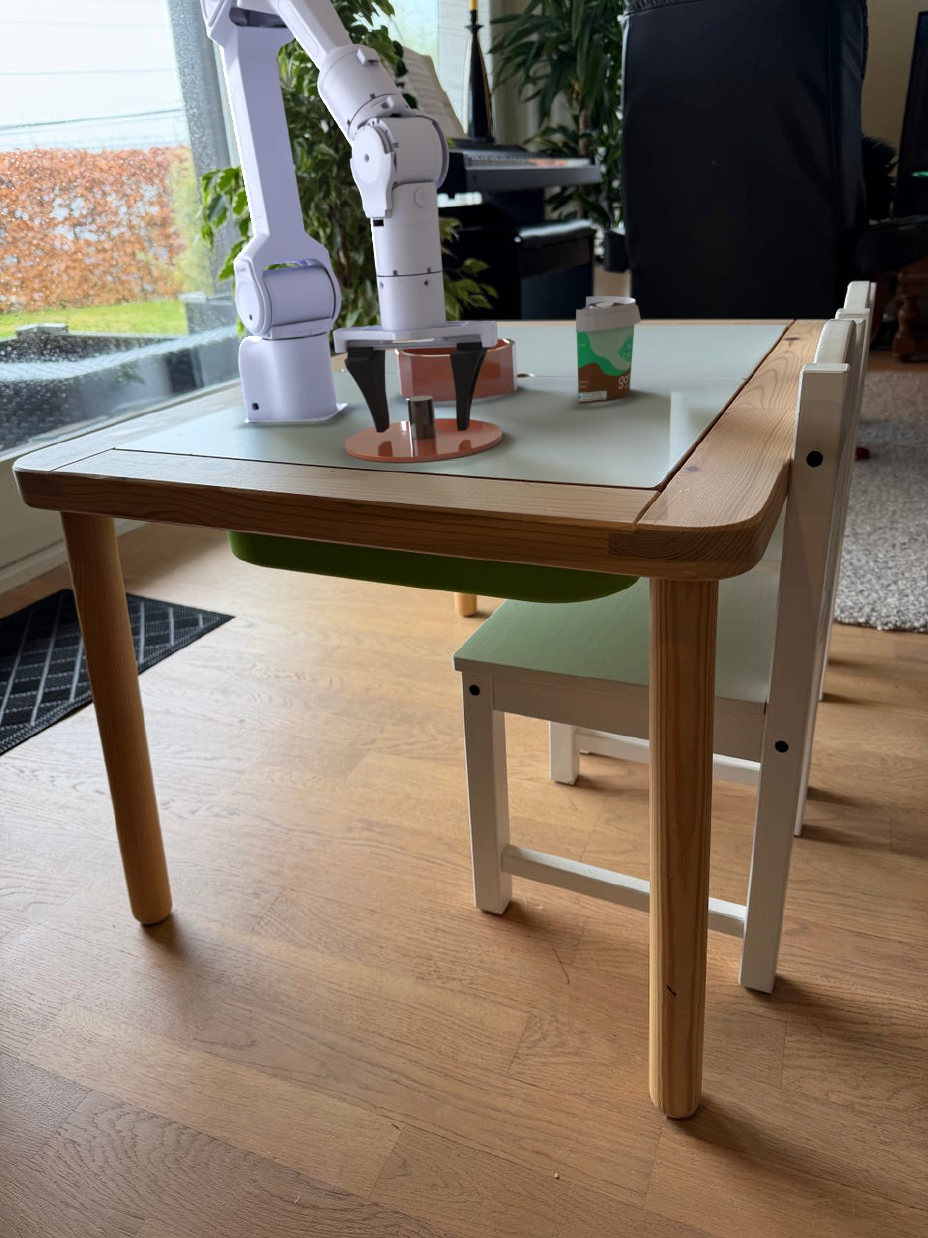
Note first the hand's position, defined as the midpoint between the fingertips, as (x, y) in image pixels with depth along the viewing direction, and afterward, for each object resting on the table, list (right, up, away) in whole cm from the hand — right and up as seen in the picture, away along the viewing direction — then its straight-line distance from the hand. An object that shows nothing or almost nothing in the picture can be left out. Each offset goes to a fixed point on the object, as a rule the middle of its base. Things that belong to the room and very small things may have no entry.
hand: (423, 429), depth 87 cm
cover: (0, -1, +1) cm, 1 cm away
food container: (+20, +6, +15) cm, 26 cm away
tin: (+3, +9, +23) cm, 25 cm away
